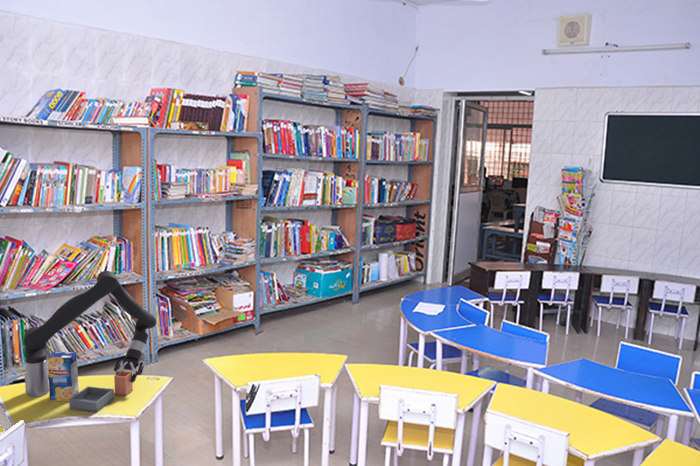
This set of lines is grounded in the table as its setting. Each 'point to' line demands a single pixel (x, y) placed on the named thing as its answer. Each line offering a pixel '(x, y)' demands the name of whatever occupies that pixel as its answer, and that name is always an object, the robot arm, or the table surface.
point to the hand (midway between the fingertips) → (123, 381)
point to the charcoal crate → (91, 399)
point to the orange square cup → (123, 383)
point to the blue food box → (62, 375)
